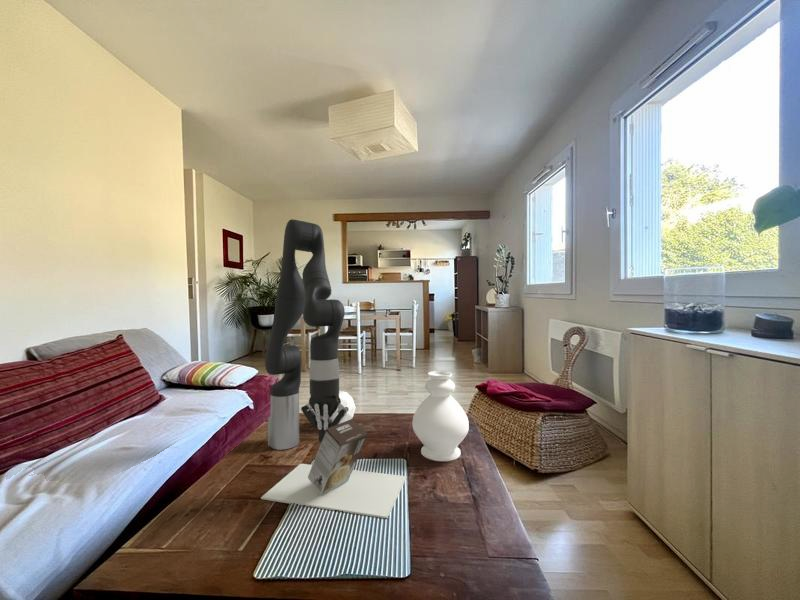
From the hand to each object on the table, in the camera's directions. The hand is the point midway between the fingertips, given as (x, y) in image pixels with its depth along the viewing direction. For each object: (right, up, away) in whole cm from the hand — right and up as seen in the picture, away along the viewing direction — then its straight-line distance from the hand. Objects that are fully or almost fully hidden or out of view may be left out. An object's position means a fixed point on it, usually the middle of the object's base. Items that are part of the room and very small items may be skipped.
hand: (325, 443), depth 87 cm
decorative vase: (+32, -12, +20) cm, 40 cm away
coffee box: (+1, -10, 0) cm, 10 cm away
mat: (+3, -11, -1) cm, 12 cm away
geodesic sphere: (-5, -12, +44) cm, 46 cm away
